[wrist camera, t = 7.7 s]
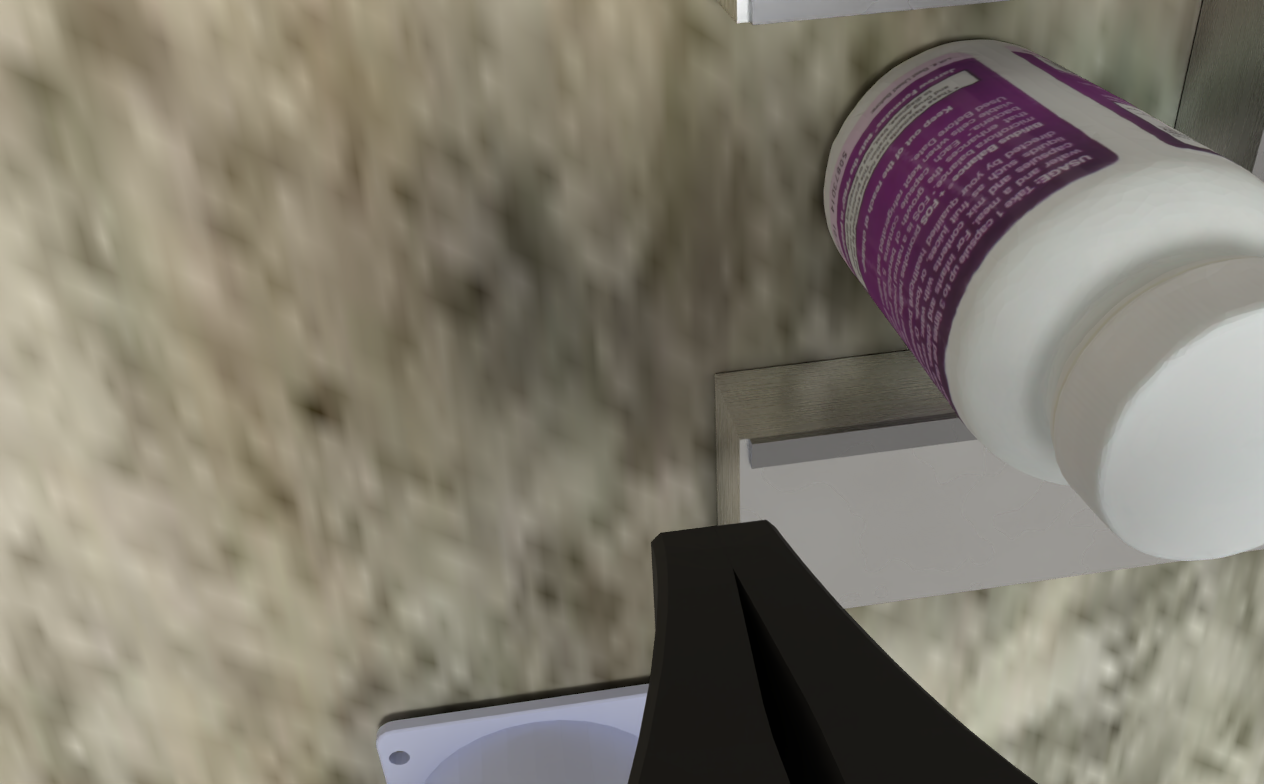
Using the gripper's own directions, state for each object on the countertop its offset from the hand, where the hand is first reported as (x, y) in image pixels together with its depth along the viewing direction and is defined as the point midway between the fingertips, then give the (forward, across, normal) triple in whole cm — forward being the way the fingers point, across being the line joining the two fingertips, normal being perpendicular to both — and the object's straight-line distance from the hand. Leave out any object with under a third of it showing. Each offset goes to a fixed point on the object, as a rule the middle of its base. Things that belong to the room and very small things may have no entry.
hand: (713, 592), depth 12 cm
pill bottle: (+11, -7, -1) cm, 13 cm away
